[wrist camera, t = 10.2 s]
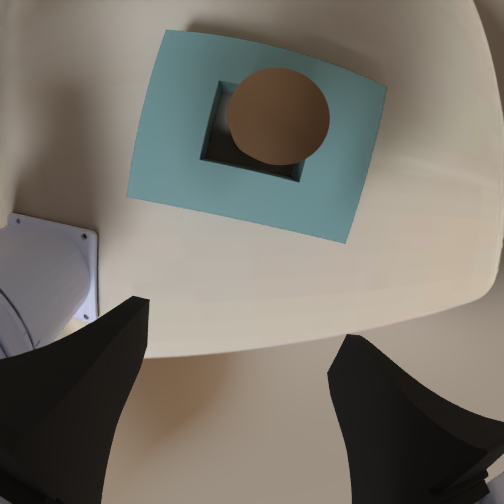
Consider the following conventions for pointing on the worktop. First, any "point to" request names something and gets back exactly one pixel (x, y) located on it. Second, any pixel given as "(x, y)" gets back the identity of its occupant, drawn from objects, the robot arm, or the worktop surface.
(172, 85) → the hole block
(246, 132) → the walnut peg
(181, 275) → the worktop surface
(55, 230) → the robot arm
